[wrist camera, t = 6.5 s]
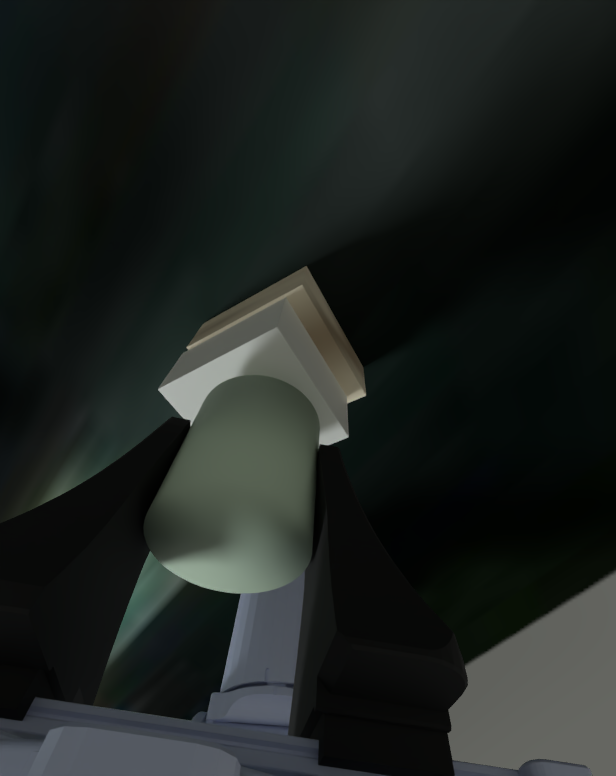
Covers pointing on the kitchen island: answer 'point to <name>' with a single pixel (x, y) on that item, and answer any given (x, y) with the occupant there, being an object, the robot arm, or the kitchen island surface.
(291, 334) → the tower top block
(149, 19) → the kitchen island surface
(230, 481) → the sage cylinder
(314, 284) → the tower base block
